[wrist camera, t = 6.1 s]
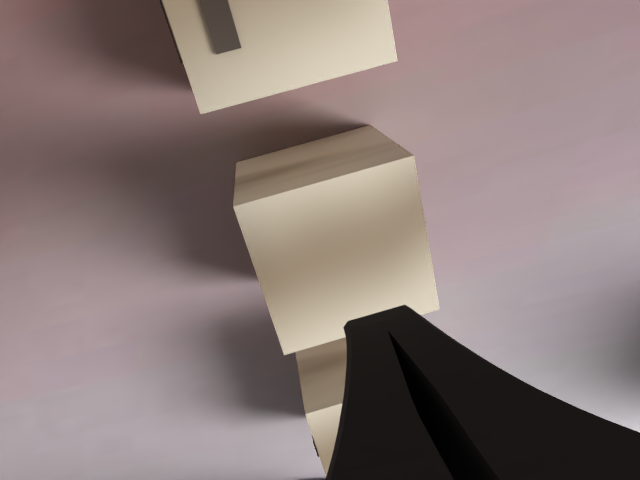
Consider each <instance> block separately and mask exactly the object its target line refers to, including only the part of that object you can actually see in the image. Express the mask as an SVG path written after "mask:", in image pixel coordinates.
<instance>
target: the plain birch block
mask: <svg viewBox="0 0 640 480" xmlns="http://www.w3.org/2000/svg"><path fill="white" fill-rule="evenodd" d="M233 208H234V211H235V214H236V216H237V219H238V222H239V225H240V228H241V231H242V234H243V237H244V240H245V243H246V246H247V248H248V251H249V254H250V257H251V260H252V263H253V266H254V269H255V272H256V275H257V278H258V281H259V283H260V286H261V289H262V292H263V295H264V298H265V301H266V304H267V307H268V310H269V313H270V315H271V318H272V321H273V324H274V327H275V330H276V333H277V336H278V339H279V342H280V345H281V347H282V350H283V353H284V355H287V354H290V353H293V352H297V351H300V350H304V349H307V348H310V347H314V346H317V345H321V344H324V343H327V342H331V341H334V340H338V339H341V338H344V337H346V336H345V332H344V328H343V327H344V326H345V324H346V323H347V321H350V320H353V319H357V318H360V317H364V316H367V315H371V314H374V313H377V312H381V311H384V310H388V309H391V308H395V307H398V306H402V305H407V306H408V307H410V308H412V309H413V310H414V311H415V312H417V313H418V314H419V315H422V314H426V313H429V312H433V311H436V310H439V309H440V308H439V302H438V296H437V290H436V284H435V278H434V272H433V266H432V260H431V254H430V248H429V242H428V236H427V230H426V224H425V218H424V212H423V206H422V200H421V194H420V188H419V182H418V176H417V170H416V164H415V158H414V155H413V154H411V153H410V152H408V151H407V150H405V149H404V148H403V147H401V146H400V145H398V144H397V143H395V142H394V141H393V140H391V139H390V138H388V137H387V136H385V135H384V134H383V133H381V132H380V131H378V130H377V129H375V128H374V127H373V126H371V125H368V126H365V127H361V128H357V129H354V130H350V131H347V132H343V133H340V134H336V135H332V136H329V137H325V138H322V139H318V140H315V141H311V142H308V143H304V144H300V145H297V146H293V147H290V148H286V149H283V150H279V151H275V152H272V153H268V154H265V155H261V156H258V157H254V158H250V159H247V160H243V161H240V162H236V173H235V187H234V201H233Z"/></svg>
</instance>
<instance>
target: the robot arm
mask: <svg viewBox="0 0 640 480" xmlns="http://www.w3.org/2000/svg"><path fill="white" fill-rule="evenodd" d="M343 328H344V332H345V336H346V346H347V364H346V376H345V388H344V397H343V403H342V409H341V415H340V420H339V426H338V432H337V436H336V441H335V445H334V450H333V454H332V458H331V462H330V465H329V469H328V473H327V476H326V480H640V433H639V432H637V431H634V430H631V429H629V428H626V427H624V426H621V425H618V424H616V423H613V422H611V421H608V420H605V419H603V418H600V417H598V416H596V415H593V414H591V413H588V412H586V411H584V410H581V409H579V408H577V407H575V406H572V405H570V404H568V403H566V402H564V401H562V400H560V399H557V398H555V397H553V396H551V395H549V394H547V393H545V392H542V391H540V390H538V389H536V388H535V387H533V386H531V385H529V384H527V383H525V382H523V381H521V380H520V379H518V378H516V377H514V376H512V375H511V374H509V373H507V372H505V371H504V370H502V369H500V368H498V367H497V366H495V365H493V364H492V363H490V362H488V361H487V360H485V359H483V358H482V357H480V356H479V355H477V354H476V353H474V352H472V351H471V350H469V349H468V348H466V347H465V346H463V345H462V344H460V343H458V342H457V341H456V340H454V339H453V338H451V337H450V336H448V335H447V334H445V333H444V332H443V331H441V330H440V329H438V328H437V327H436V326H434V325H433V324H431V323H430V322H429V321H427V320H426V319H425V318H423V317H422V316H421V315H419V314H418V313H417V312H415V311H414V310H413V309H412V308H410V307H408V306H407V305H402V306H398V307H395V308H391V309H388V310H384V311H381V312H377V313H374V314H371V315H367V316H364V317H360V318H357V319H353V320H350V321H347V323H346V324H345V326H344V327H343Z"/></svg>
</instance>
